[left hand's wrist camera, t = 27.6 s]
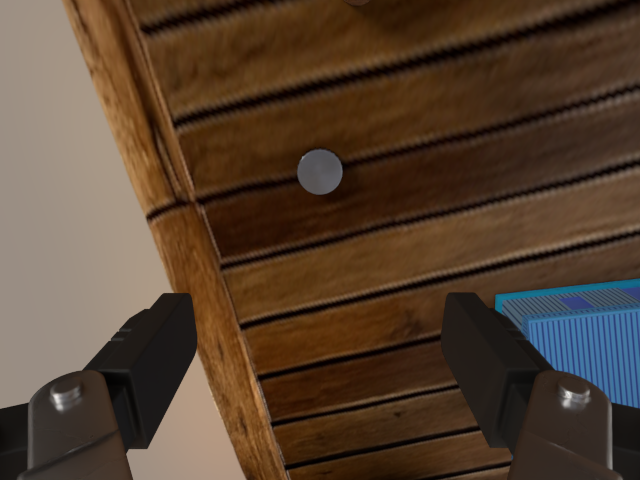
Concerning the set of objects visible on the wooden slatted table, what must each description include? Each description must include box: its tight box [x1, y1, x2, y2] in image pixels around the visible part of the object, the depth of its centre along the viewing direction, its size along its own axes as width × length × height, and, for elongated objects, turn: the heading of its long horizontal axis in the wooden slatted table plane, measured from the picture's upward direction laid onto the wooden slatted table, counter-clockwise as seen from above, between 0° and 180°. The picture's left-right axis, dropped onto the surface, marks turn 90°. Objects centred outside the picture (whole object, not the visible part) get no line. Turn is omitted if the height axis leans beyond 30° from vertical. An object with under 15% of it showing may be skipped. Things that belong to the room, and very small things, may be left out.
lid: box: [297, 147, 343, 195], centre depth 38 cm, size 5×5×2 cm
